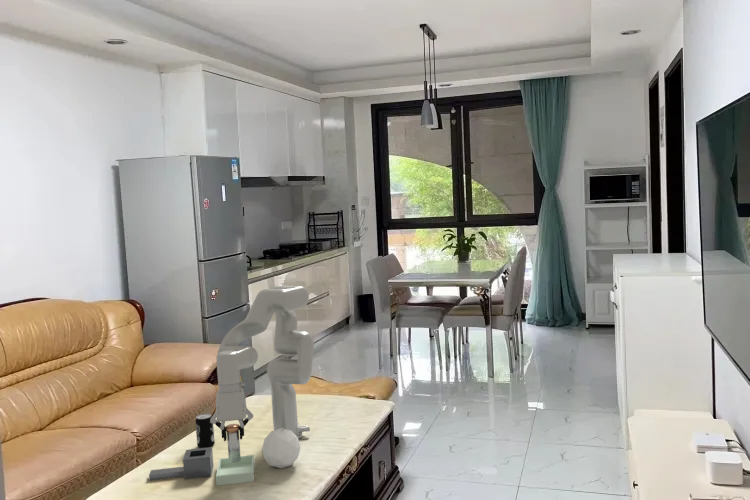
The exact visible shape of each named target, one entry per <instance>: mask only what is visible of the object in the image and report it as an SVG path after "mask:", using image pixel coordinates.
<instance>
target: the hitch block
mask: <svg viewBox="0 0 750 500" xmlns="http://www.w3.org/2000/svg"><path fill="white" fill-rule="evenodd" d="M213 470H214V455H213V446H212V447H208V448H199V447H198V448H192V449H190V448H189V449H185V452H184V455H183V459H182V466H177V467H169V468H168V467H167V468H161V469H151V470H150V472H149V475H148V477H149V479H148V480H149V481H158V480H165V479H173V478H174V479H175V478H182V477H184V481H185V480H193V479H194V480H195V479H201V478H208V477H209V478H211V477H212V475H213Z"/></svg>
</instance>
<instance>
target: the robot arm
mask: <svg viewBox="0 0 750 500" xmlns="http://www.w3.org/2000/svg"><path fill="white" fill-rule="evenodd" d="M309 299H310V295H309V291H308V289H306V287H304V286H302V285H301V286H300V285H299V286H298V285H274V286H271V287H269V288H265V289H261V290H260V291H258V292H257V294H256V296H255V298H254V300H253V302H252V305H251V307H250V309H249V311H248V313H247V315H246V317H245V319H244V320H242V321H241V322H239V323H238V324H236V325H235V326H234V327H233V328H231V329H230V330H229V331H228V332H227V333H226V335H224V337H223V339H222V340H221V343H220V345H219V348H218V350H217V354H216V374H217V382H218V383H217V385H218V386H217V387H218V390H217V391H216V397H215V412H214V413H213V415H211V417H212V418H211V419H210V422H212V423H213V425H215V426H216V427H217V428H219V429H220V431H221V438H222V439H223V441H224V442H226V441H227V432H226V429H225V427H226V425H225V424H226V422H232V421H238V423H239V425H240V428H239V440H243V437H244V436H245V426H247V424H248V423H249V422H250V421H251V420H252V419H253V418H254V414H253V413H252V412H251V410H249V409H248V407H247V400H246V394H245V391H244V390H245V389H244V387H246V382H243V381H242V380H241V370H243V369H249V368H251V367H253V366H254V365H255V364H256V363H257V361H258V358H259V353H258V351H257V350H256V348H254V347H253V346H248V345H239V344H241V343H242V342H243V341H245V340H246V339H248V338H249V339H250V338H251V337H254V336H257V335H259V334H262V333H264V332H265V331H266V330H267V328H268V326H269V325H270V321H271V319H272V318H273V315H275V329H274V338H273V350H274V351H275V353H276V354H278V355H283V356H296V357H297V358H284V357H283V358H282V357H278V358H273V359H272V360H271V361H270V362H269V363H268V364H267V367H266V374H267V379H268V382H269V387H270V393H271V394H270V396H271V409H272V423H273V424H272V425H273V431H274V430H277V429H280V428H283V429H284V426H285V429H287V430H291V431H292V432H293V433H294V434H295V435H296V436H297V437H298V440H300V439H301V438H302V437H303V433H304V432H305V433H307V432H310V431H311V430H310V429H311V428H310V426H309V425H308V426H307V425H305V424H304V425H300V424H299V422H298V406H297V394H296V393H297V392H296V390H295V387H294V385H305V384H308V383H309V381H310V379H311V376H312V373H313V371H312V370H313V361H314V349H315V348H314V344H315V343H314V339H313V336H312V334H311V333H309V332H308V331H303V330H302V331H301V330H300V331H298V316H297V314H296V312H295V311H297V310H300V309H303V308H304V307H306V306H307V304H308V302H309Z"/></svg>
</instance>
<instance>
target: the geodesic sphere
mask: <svg viewBox="0 0 750 500" xmlns="http://www.w3.org/2000/svg"><path fill="white" fill-rule="evenodd" d="M301 448H302V447H301V444H300V439H298V437H297V436H296V435H295V434H294V433H293V432H292V431H291V430H287V429H285V426H284V429H283V428H280V429H277V430H274V429H273V430H272V431H270V432H269V433H268V434H267V436H266V437H265V438H264V440H263V445H262V454H263V457H264V460H265V461H266V462H267V464H268V465H270V466H272V467H275V468H279V469H283V468H287V467H290V466H292V465H293V464H294V463H295V462H296V461H297V459H298V458H299V455H300V451H301Z"/></svg>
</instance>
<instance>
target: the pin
mask: <svg viewBox="0 0 750 500" xmlns="http://www.w3.org/2000/svg"><path fill="white" fill-rule="evenodd" d="M239 428H240V423H239V424H238V423H231V424H228V425H225V429H226V435H227V439H226V441H227V452H228V458H229V462H230V463H237V462H239V461H241V457H240V456H241V445H240V444H241V443H240V431H239Z"/></svg>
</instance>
